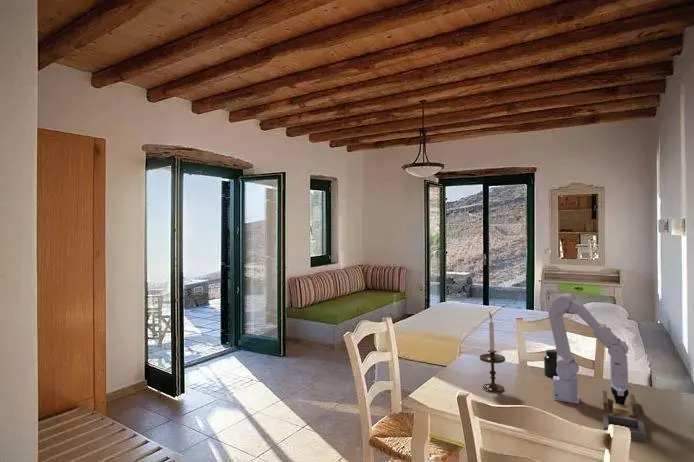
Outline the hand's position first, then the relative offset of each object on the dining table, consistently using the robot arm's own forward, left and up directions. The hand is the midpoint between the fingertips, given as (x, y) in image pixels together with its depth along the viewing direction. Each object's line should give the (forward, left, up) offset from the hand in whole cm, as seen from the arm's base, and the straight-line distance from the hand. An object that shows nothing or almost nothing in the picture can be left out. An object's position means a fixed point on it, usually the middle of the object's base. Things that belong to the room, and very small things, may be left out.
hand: (620, 408), depth 162 cm
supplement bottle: (-26, +33, -2) cm, 42 cm away
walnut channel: (0, +6, -1) cm, 6 cm away
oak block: (0, -5, -2) cm, 5 cm away
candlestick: (-48, +3, -2) cm, 48 cm away
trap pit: (0, -17, -1) cm, 17 cm away
